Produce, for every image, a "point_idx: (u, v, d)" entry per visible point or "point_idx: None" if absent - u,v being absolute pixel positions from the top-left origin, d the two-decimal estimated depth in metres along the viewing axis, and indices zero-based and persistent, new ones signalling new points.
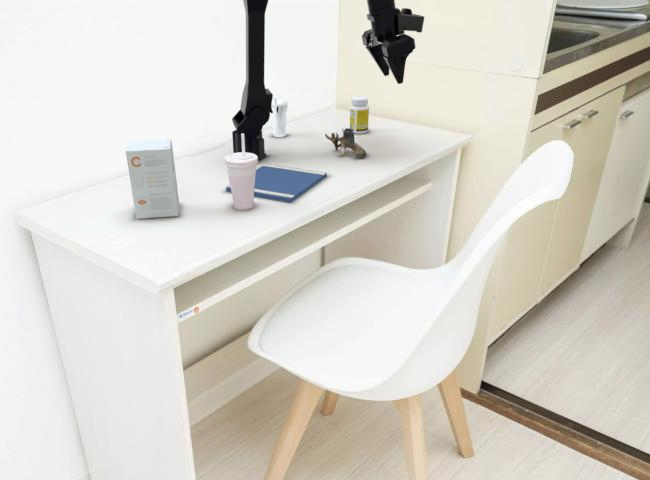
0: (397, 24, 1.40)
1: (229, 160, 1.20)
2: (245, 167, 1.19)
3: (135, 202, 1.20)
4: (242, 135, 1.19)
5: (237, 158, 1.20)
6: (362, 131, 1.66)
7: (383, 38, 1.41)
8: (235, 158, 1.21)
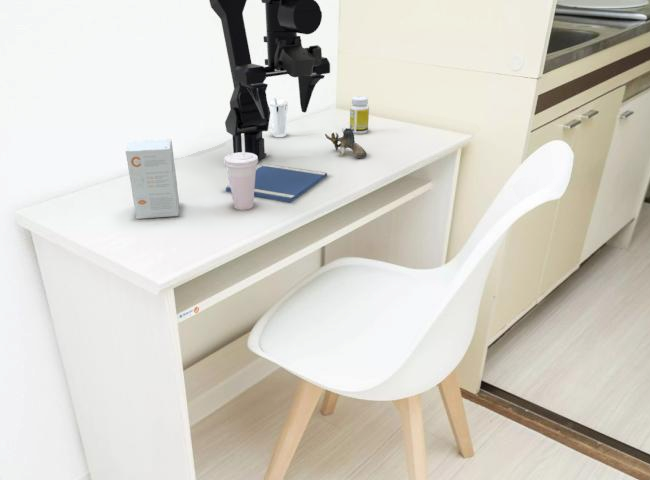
0: None
1: (229, 160, 1.20)
2: (245, 167, 1.19)
3: (135, 202, 1.20)
4: (242, 135, 1.19)
5: (237, 158, 1.20)
6: (362, 131, 1.66)
7: (267, 63, 1.26)
8: (235, 158, 1.21)
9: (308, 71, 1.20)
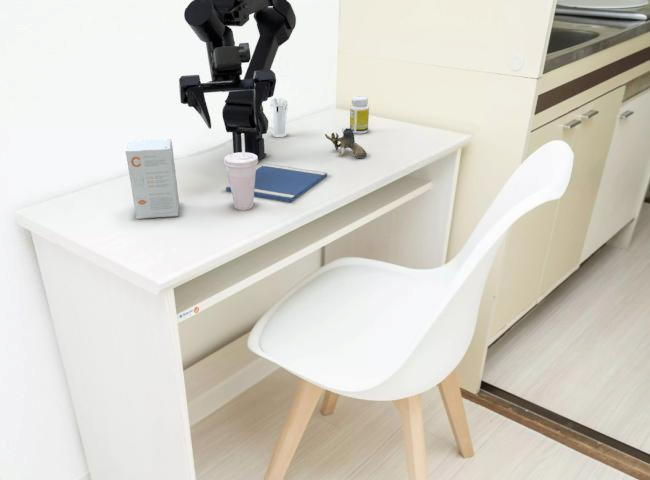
0: None
1: (229, 160, 1.20)
2: (245, 167, 1.19)
3: (135, 202, 1.20)
4: (242, 135, 1.19)
5: (237, 158, 1.20)
6: (362, 131, 1.66)
7: None
8: (235, 158, 1.21)
9: (234, 58, 1.20)
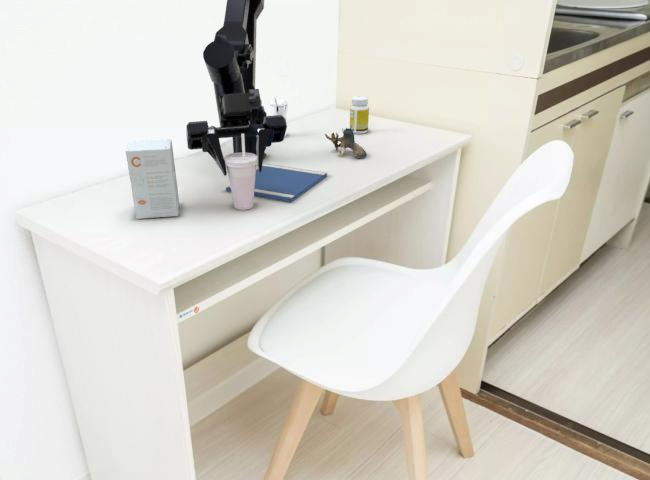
0: None
1: (229, 160, 1.20)
2: (245, 167, 1.19)
3: (135, 202, 1.20)
4: (242, 135, 1.19)
5: (237, 158, 1.20)
6: (362, 131, 1.66)
7: None
8: (235, 158, 1.20)
9: (244, 106, 1.16)
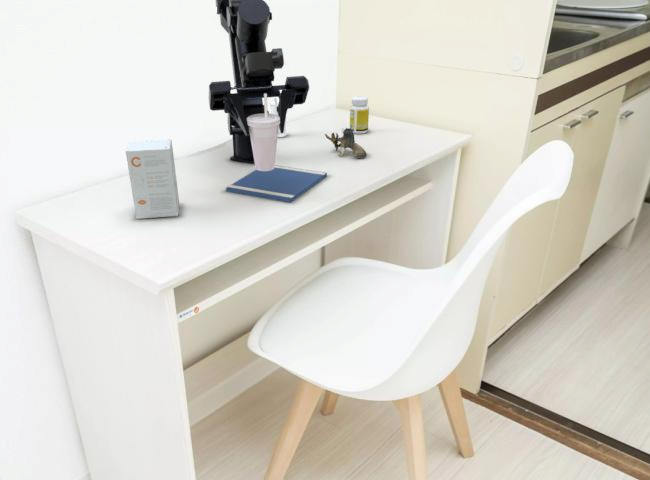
0: None
1: (251, 120, 1.20)
2: (267, 127, 1.19)
3: (135, 202, 1.20)
4: (265, 95, 1.19)
5: (259, 118, 1.20)
6: (362, 131, 1.66)
7: None
8: (257, 118, 1.21)
9: (267, 65, 1.16)
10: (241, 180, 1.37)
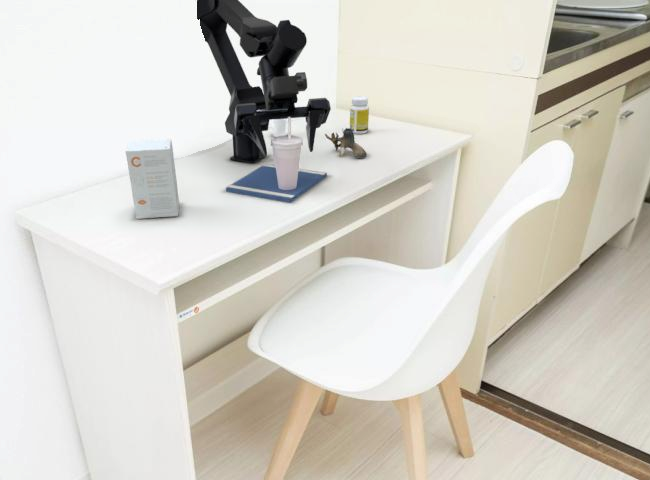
0: None
1: (276, 142, 1.26)
2: (291, 149, 1.25)
3: (135, 202, 1.20)
4: (289, 118, 1.25)
5: (283, 140, 1.27)
6: (362, 131, 1.66)
7: None
8: (281, 140, 1.27)
9: (292, 88, 1.22)
10: (241, 180, 1.37)
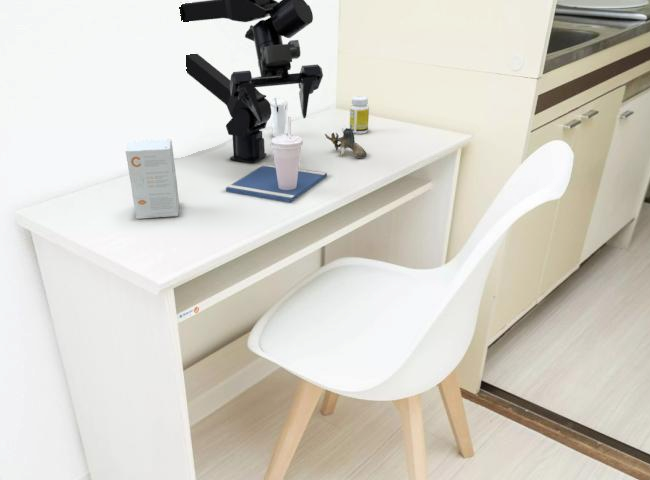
0: None
1: (276, 142, 1.26)
2: (291, 149, 1.25)
3: (135, 202, 1.20)
4: (289, 118, 1.25)
5: (283, 140, 1.27)
6: (362, 131, 1.66)
7: None
8: (281, 140, 1.27)
9: (285, 56, 1.26)
10: (241, 180, 1.37)
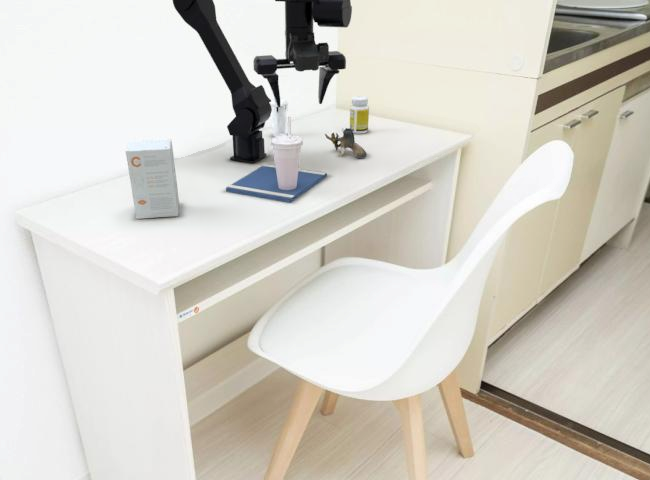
0: None
1: (276, 142, 1.26)
2: (291, 149, 1.25)
3: (135, 202, 1.20)
4: (289, 118, 1.25)
5: (283, 140, 1.27)
6: (362, 131, 1.66)
7: None
8: (281, 140, 1.27)
9: (313, 66, 1.29)
10: (241, 180, 1.37)
